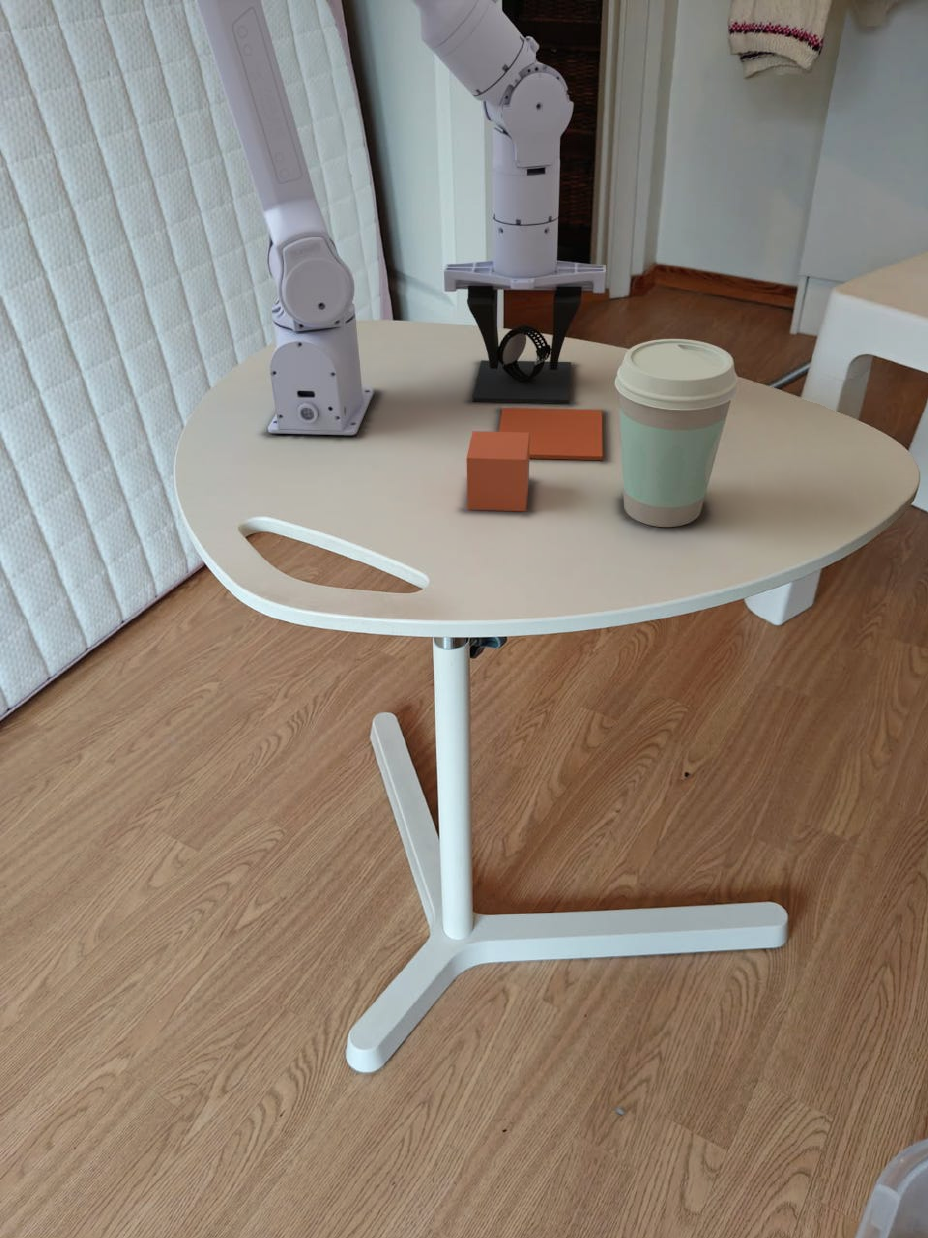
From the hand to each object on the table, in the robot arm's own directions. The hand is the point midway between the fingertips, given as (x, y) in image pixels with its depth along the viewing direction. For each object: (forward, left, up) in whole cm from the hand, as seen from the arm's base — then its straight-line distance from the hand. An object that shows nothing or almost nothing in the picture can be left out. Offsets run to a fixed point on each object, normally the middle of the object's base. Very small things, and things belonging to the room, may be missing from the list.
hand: (523, 365), depth 94 cm
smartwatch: (0, 0, -2) cm, 2 cm away
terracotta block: (-22, +1, -2) cm, 22 cm away
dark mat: (0, 0, -2) cm, 2 cm away
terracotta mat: (-11, -3, -2) cm, 12 cm away
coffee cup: (-23, -12, -2) cm, 26 cm away
